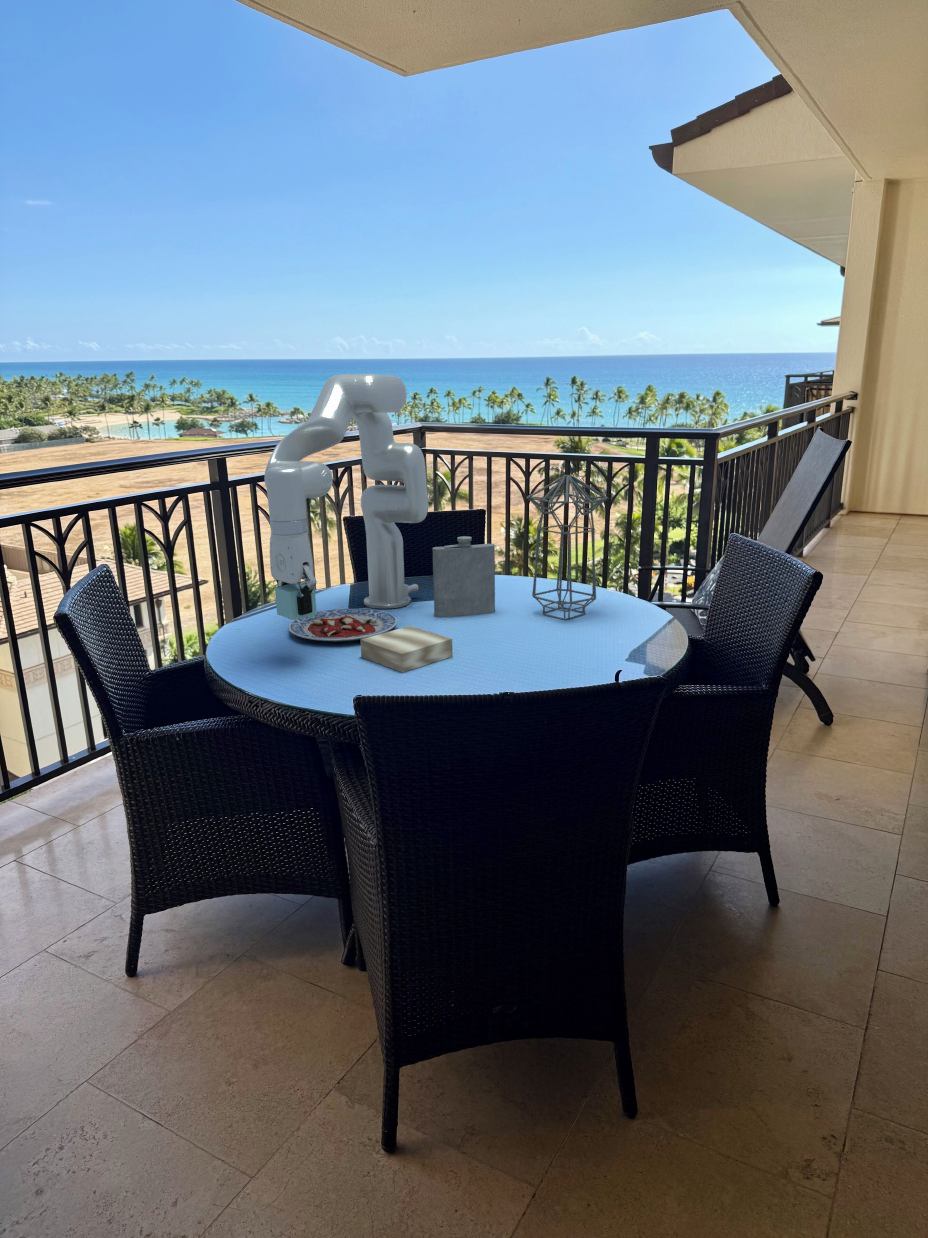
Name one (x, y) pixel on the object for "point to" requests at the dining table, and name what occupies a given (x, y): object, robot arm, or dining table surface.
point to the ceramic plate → (343, 624)
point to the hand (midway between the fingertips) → (296, 609)
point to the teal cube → (291, 601)
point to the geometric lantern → (577, 489)
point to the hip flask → (464, 579)
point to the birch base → (406, 648)
